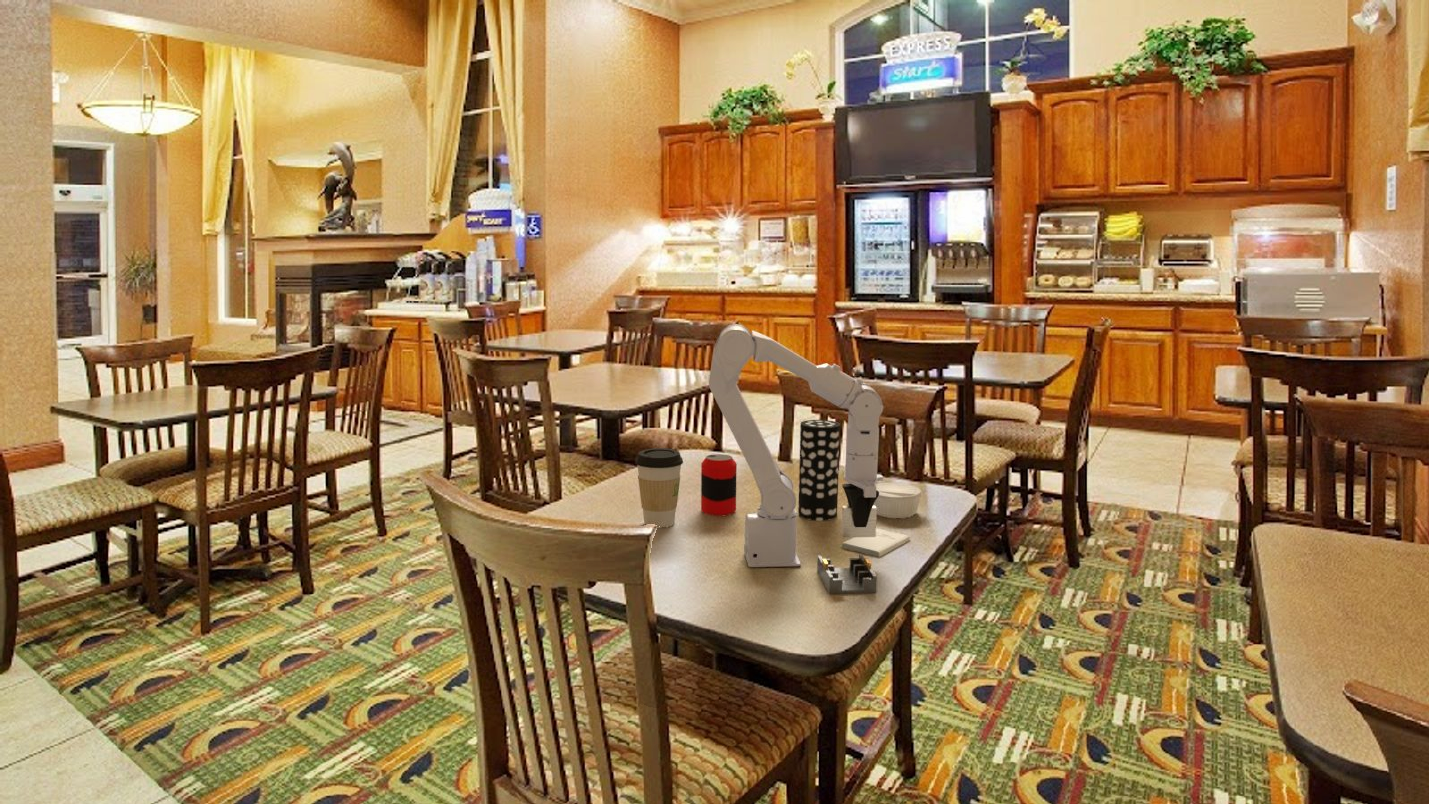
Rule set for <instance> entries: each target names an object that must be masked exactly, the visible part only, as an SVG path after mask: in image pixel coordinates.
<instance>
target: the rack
mask: <svg viewBox="0 0 1429 804" xmlns="http://www.w3.org/2000/svg"><path fill="white" fill-rule="evenodd" d="M871 562H872V561H870V559H869V558H868V557H866V558H865V557H864V554H858V557H850V558H849V567H835V565H834V564H831V563H832V561H831V558H823V557H822V555H821V554H820V555H817V568H816V572H817V574H818V576H819V578H820V579H821V581H822V584H823V585H824V587H825V589H826V591H827V592H828V595H838V594H839V595H842V594H877V580H878V578H877V574H876V572H875V571H874V570H873V568H872V563H871Z"/></svg>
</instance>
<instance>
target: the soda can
mask: <svg viewBox="0 0 1429 804" xmlns="http://www.w3.org/2000/svg"><path fill="white" fill-rule="evenodd" d="M700 464H701V465H700V466H701V469H700V470H701V473H700V475H701V477H700V478H701V479H700V480H701V481H700V482H701V483H700V484H701V485H700V486H701V487H700V491H701V492H700V499H701V501H700V506H701V507H700V510H701V511H702V513H703V512H704V513H703V514H705V513H706V515H708V514H709V515H708V516H712V515H716V516H715V517H723V515H725V516H730V515H733V514H735V512H736V511H737V469H738V468H737V462H736V461H735V459H734V458H733V457H732V456H731V455H728V454H722V453H721V454H720V453H718V454H717V453H716V454H715V453H714V454H709V455H706V456H705V457H704V459H703V461H702V462H701V463H700ZM732 513H733V514H732ZM729 514H730V515H729Z"/></svg>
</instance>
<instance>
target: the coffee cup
mask: <svg viewBox="0 0 1429 804" xmlns="http://www.w3.org/2000/svg"><path fill="white" fill-rule="evenodd" d="M634 463H635V465H637V471H638V475H637V479H638V486H639V487H638V489H639V495H640V496H639V497H640V502H641V503H640V504H641V509H642V512H643V513H642V515H643V521H644V523H645V524H655V525H657V527H659V526H660V527H666V528H668V527H667V526H670V527H672V526H671V525H673V524H674V525H675V519H676V512H677V508H678V499H679V492H680V481H681V467H682V465H683V464H684V461H683V457H682V455H681V452H680V451H679V450H677V449H673V448H664V447H663V448H662V447H661V448H658V447H655V448H647V449H642V450H640V451H639V452H638V453H637V457H636V458H635V462H634ZM645 524H644V525H645ZM674 525H673V526H674Z"/></svg>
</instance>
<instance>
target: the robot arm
mask: <svg viewBox="0 0 1429 804" xmlns="http://www.w3.org/2000/svg"><path fill="white" fill-rule="evenodd" d="M751 359H753V363H764V362H770V363H772V364H774V365H777V366H778V367H780V368H783V369H784V370H786V371H787V372H789V373H792V374H794V375H796V376H797V377H798V378H799V377H800V378H801V379H804V380H805V381H807V382H808V384H809V388H810V392H811V393H814V394H815V395H816V396H817V395H818V396H819V397H821V399H822V398H823V399H824V400H826V401H827V402H830V403H831V404H833V405H835V406H837V407H839V408H840V409H847V410H848V420H847V423H848V424H847V427H846V439H845V440H846V443H845V445H846V446H845V465H844V467H845V470H844V475H843V480H844V482H846V483H843V484H842V485H841V486H842V489H843V491H844V494H845V496H846V500H847V503H848V505H847V506H852V514H853V522H854V526H855V527H866V526H867V523H868V520H869V516H870V512H871V509H872V507H873V504H874V502H875V501H876V499H877V498H878V496H879V492H878V491H877V490H876V484H878V482H881V481H882V482H883V481H884V476H883V475H882V474H879V473H878V462H879V461H878V459H879V440H880V439H879V438H880V427H879V423H880V416H881V415H882V413H883V411H884V405H883V401H882V398H881V396H880V394H878V392H876V390H875V389H874V388H873V387H872V386H870V385H869V384H868V383H864V381H863V380H862V379H861V378H859V377H858V378H857V379H855V378H853V377H852V376H851V375H848V374H847V373H845V372H843V371H841V367H840V365H838V364H836V363H833V364H832V365H831V364H829V363H822V364H819V365H816V364H815V363H812V362H811V361H809V360H808V359H807V358H804V357H803V356H801V355H799V354H798V353H796V352H795V351H793V350H791V349H790V348H788V347H786V346H784V344H781V343H779V342H778V341H776V340H774V339H773V338H771V337H770V336H768V335H765V334H762V333H760V332H758V331H755V330H751V331H750V330H749V328H747V327H746V326H744V325H742V324H737V323H736V324H730V325H728V326H726V327H725V328H723V329H722V331H721V332H720V334H719V335H718V337H717V340H716V342H715V344H714V345H713V352H712V359H711V364H710V365H711V366H710V372H709V377H708V379H709V380H708V387H709V389H710V392H711V394H712V395H713V397H714V399H715V402H716V404H717V405H718V406H717V407H718V408H719V409H720V412H721V413H722V415H723V418H724V419H725V421H726V423H727V425H728V427H729V429H730V432H731V433H732V435H733V436H734V437H733V438H734V439H735V441H736V443H737V445H738V447H739V449H740V451H741V452H742V455H743V457H744V459H745V461H746V463H747V465H748V467H749V469H750V470H751V473H752V476H753V479H754V481H755V483H756V486H757V488H758V490H759V494H760V505H759V507H757V510H756V512H753V513H747V514H746V515H745V519H744V544H743V554H744V556H745V561H746V562H747V565H748V567H749V568H766V567H769V568H771V567H774V568H775V567H776V568H777V567H778V568H780V567H800V566H801V561H800V559H799V557H798V555H797V551H796V550H797V516H798V511H797V509H795V508H796V506H797V497H796V493H795V492H794V484H793V480H792V479H791V478H790V476H788V475H787V474H786V473H784V471H782V470H781V468H780V467H779V464H778V463H777V461H776V459H774V457H773V454H772V453H771V451H770V449H769V447H768V445H767V442H766V441H765V439H764V437H763V434H762V432H761V430H760V429H759V426H758V424H757V422H756V421H755V419H754V417H753V414H752V412H751V411H750V408H749V407H748V404H747V403H746V400H745V399H744V396H743V395H742V392H741V390H740V388H739V386H738V383H737V382H738V380H739V377H740V375H741V372H742V369H743V368H744V367H745V366H746V365H747V364H748V362H749V361H750V360H751Z"/></svg>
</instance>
